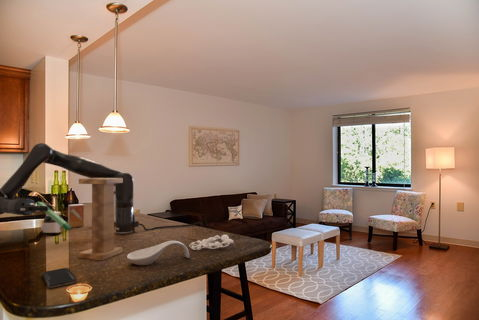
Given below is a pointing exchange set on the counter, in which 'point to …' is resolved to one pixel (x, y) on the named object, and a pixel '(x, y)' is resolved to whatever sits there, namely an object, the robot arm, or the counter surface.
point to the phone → (59, 277)
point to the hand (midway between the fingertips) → (49, 208)
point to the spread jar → (51, 226)
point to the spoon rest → (153, 253)
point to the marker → (56, 217)
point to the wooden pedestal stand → (102, 219)
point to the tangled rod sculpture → (209, 241)
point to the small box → (76, 215)
